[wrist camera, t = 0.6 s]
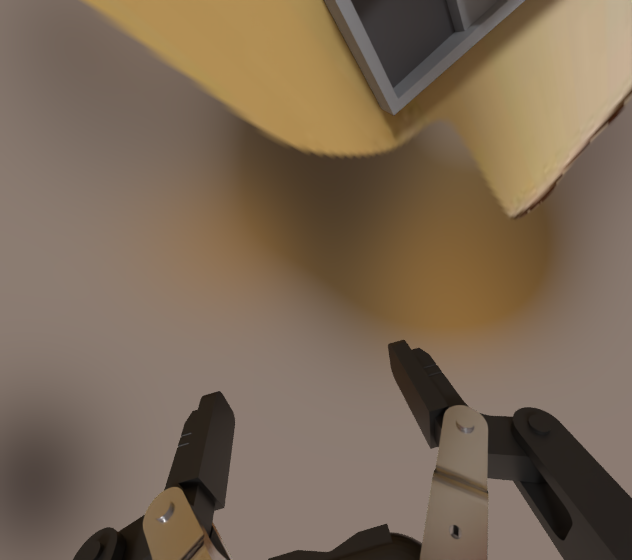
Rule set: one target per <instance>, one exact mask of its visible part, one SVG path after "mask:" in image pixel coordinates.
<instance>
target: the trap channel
mask: <svg viewBox="0 0 632 560" xmlns="http://www.w3.org/2000/svg"><path fill="white" fill-rule="evenodd" d="M324 1H325V3H326V5H327V7H328V9H329V11H330V13H331V15H332V16H333V18H334V20H335V22H336V24H337V26H338V28H339V30H340V31H341V33H342V35H343V37H344V39H345V41H346V43H347V45H348V47H349V48H350V50H351V52H352V54H353V56H354V58H355V60H356V62H357V63H358V65H359V67H360V69H361V71H362V73H363V75H364V77H365V79H366V80H367V82H368V84H369V86H370V88H371V90H372V92H373V94H374V95H375V97H376V99H377V101H378V103H379V105H380V107H381V109H383V110H384V111H386V112H388V113H390V114H392V115H395V114H396V113H397V112H399V111H400V110H401V109H402V108H403V107H404V106H405V105H406V104H408V103H409V102H410V101H411V100H412V99H413V98H414V97H416V96H417V95H418V94H419V93H420V92H421V91H422V90H424V89H425V88H426V87H427V86H428V85H429V84H430V83H432V82H433V81H434V80H435V79H436V78H437V77H438V76H440V75H441V74H442V73H443V72H444V71H445V70H446V69H448V68H449V67H450V66H451V65H452V64H453V63H454V62H455V61H457V60H458V59H459V58H460V57H461V56H462V55H463V54H465V53H466V52H467V51H468V50H469V49H470V48H471V47H473V46H474V45H475V44H476V43H477V42H478V41H479V40H481V39H482V38H483V37H484V36H485V35H486V34H487V33H489V32H490V31H491V30H492V29H493V28H494V27H495V26H496V25H498V24H499V23H500V22H501V21H502V20H503V19H504V18H506V17H507V16H508V15H509V14H510V13H511V12H512V11H514V10H515V9H516V8H517V7H518V6H519V5H520V4H522V3H523V2H524V1H525V0H324Z"/></svg>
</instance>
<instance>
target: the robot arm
mask: <svg viewBox="0 0 632 560" xmlns="http://www.w3.org/2000/svg"><path fill="white" fill-rule="evenodd" d="M388 349H389V357H390V364H391V369H392V372H393V376H394V378H395V380H396V382H397V384H398V386H399V388H400V390H401V392H402V394H403V396H404V398H405V400H406V402H407V404H408V406H409V408H410V410H411V411H412V413H413V415H414V417H415V419H416V421H417V423H418V425H419V427H420V429H421V431H422V433H423V435H424V437H425V439H426V441H427V443H428V444H429V446H430V448H434V447H439V450H438V457H437V463H436V469H435V470H434V474H433V478H432V484H431V490H430V497H429V503H428V510H427V516H426V522H425V529H424V535H423V542H422V543H421V542H419V541H417V540H415V539H413V538H411V537H409V536H406V535H403V534H399V533H390V532H389V529H388V525H387V524H384V525H381V526H377V527H374V528H371V529H367V530H364V531H361V532H358V533H356V534H355V535H353V536H352V537H351V538H349V539H348V540H346V541H345V542H344V543H342V544H341V545H339V546H338V547H336V548H335V549H334V550H332V551H330V552H317V551H303V550H297V551H293V552H290V553H287V554H283V555H280V556H277V557H273V558H270V559H268V560H487V558H488V556H487V555H488V491H487V478H493V479H502V480H513V481H514V483H515V485H516V486H517V488H518V489H519V491H520V492H521V494H522V495H523V497H524V499H525V500H526V501H527V503H528V505H529V506H530V508H531V509H532V511H533V512H534V514H535V516H536V517H537V519H538V520H539V522H540V523H541V525H542V526H543V528H544V529H545V531H546V533H547V534H548V536H549V537H550V539H551V540H552V542H553V543H554V545H555V546H556V548H557V550H558V551H559V553H560V554H561V556H562V557H563V559H564V560H632V498H631V497H630V496H629V495H628V494H627V493H626V492H625V491H624V490H623V489H622V488H621V487H620V486H619V484H618V483H617V482H616V481H615V480H614V479H613V478H612V477H611V476H610V475H609V474H608V473H607V472H606V471H605V470H604V468H603V467H602V466H601V465H600V464H599V463H598V462H597V461H596V460H595V459H594V458H593V457H592V456H591V455H590V454H589V453H588V451H587V450H586V449H585V448H584V447H583V446H582V445H581V444H580V443H579V442H578V441H577V440H576V439H575V438H574V437H573V435H572V434H571V433H570V432H569V431H568V430H567V429H566V428H565V427H564V426H563V425H562V424H561V423H560V422H559V421H558V420H557V419H556V418H555V417H554V416H552V415H550V414H549V413H547V412H545V411H542V410H540V409H537V408H531V407H527V408H521V409H519V410H517V411H516V412H515V413H514V416H513V417H506V416H489V415H484V414H481V413H479V412H477V411H476V410H474V409H472V408H470V407H469V406H468V405H467V404H466V403H465V402H464V401H463V400H462V398H461V397H460V396H459V394H458V393H457V392H456V390H455V389H454V388H453V386H452V385H451V383H450V382H449V381H448V379H447V378H446V377H445V375H444V374H443V373H442V372H441V370H440V368H439V367H438V366H437V365H436V363H435V362H434V360H433V359H432V358H431V356H430V355H429V354H428V353H426V352H425V351H423V350H422V349H420V348H417V349H413V350H411V349H410V347H409V346H408V344H407V343H406V341H405V340H401V341H397V342H394V343H390V344H389V345H388ZM234 428H235V418H234V414H233V411H232V409H231V408H230V406H229V404H228V403H227V401H226V399H225V397H224V396H223V394H222V393H221V392H220V391H218V392H215V393H211V394H208V395H204V396H202V398H201V401H200V404H199V408H198V410H195V411H192V413H191V415H190V416H189V418H188V419H187V421H186V422H185V424H184V428H183V431H182V435H181V438H180V441H179V444H178V448H177V451H176V454H175V457H174V461H173V464H172V467H171V471H170V474H169V477H168V480H167V483H166V487H165V489H164V491H163V492H161V493H160V494H159V495H158V496H157V497H156V498H155V499H154V500H153V501H152V503H151V504H150V506H149V507H148V509H147V511H146V513H145V515H143V516H142V517H141V518H139V519H138V520H136V521H134V522H133V523H131V524H130V525H128V526H127V527H125V528H123V529H122V530H120V531H119V532H117V531H116V530H115V529H113V528H110V527H109V528H104V529H102V530H99V531H98V532H96V533H95V534H94V535H92V536H91V537H90V538H89V539H88V540H87V541H86V542H85V543H84V544H83V545H82V547H81V548H80V549H79V551H78V552H77V554H76V555H75V557H74V559H73V560H233V559H232V557H231V555H230V553H229V551H228V549H227V547H226V546H225V544H224V542H223V540H222V538H221V537H220V535H219V533H218V531H217V529H216V527H215V525H214V524H213V522H212V521H213V514H214V511H215V510H218V509H222V508H224V506H225V498H226V490H227V483H228V474H229V467H230V459H231V451H232V443H233V435H234Z"/></svg>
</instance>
